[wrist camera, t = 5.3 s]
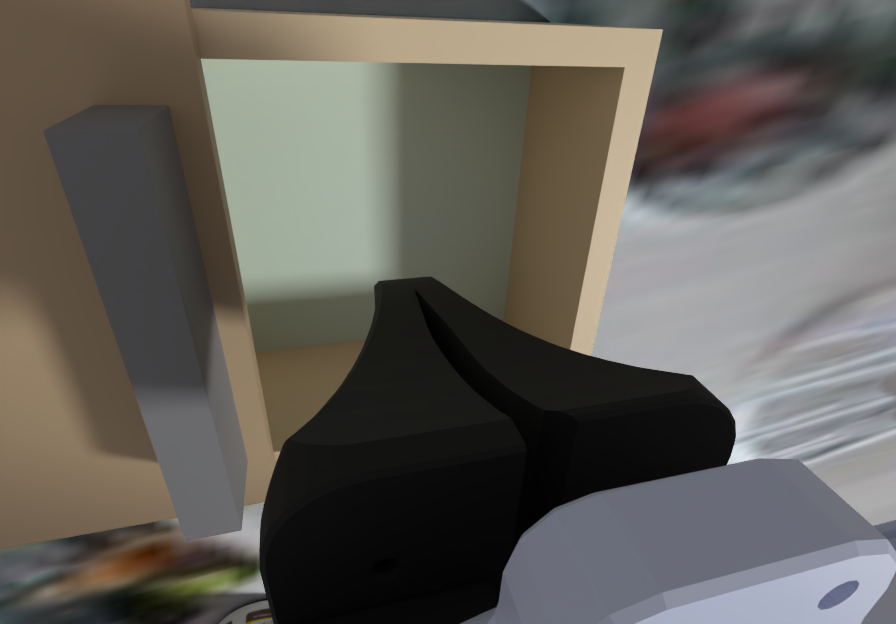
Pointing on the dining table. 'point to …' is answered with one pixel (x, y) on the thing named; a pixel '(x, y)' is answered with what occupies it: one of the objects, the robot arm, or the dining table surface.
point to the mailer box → (416, 174)
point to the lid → (118, 282)
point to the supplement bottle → (250, 614)
